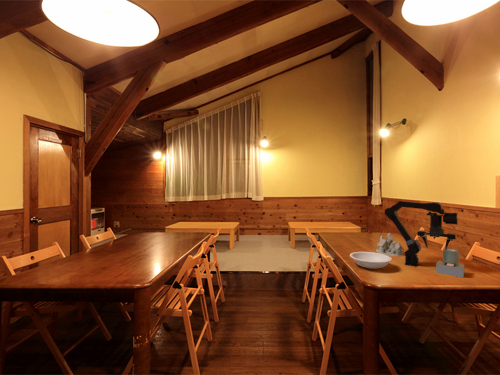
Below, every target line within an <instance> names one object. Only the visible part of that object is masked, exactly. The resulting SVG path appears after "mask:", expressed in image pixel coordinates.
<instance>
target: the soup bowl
mask: <svg viewBox="0 0 500 375" xmlns="http://www.w3.org/2000/svg"><path fill="white" fill-rule="evenodd" d="M349 258H352V259H353V261H354V262H355V263H356V264H357V265H358V266H360V267H362V268H367V269H376V270H377V269H382V268H384V267H386V266H387V265H388V264H389V263H390V262H392V261H393V258H392V257H391V255H385V254H381V253H376V251H375V252H374V251H355V252H351V253H350V254H349Z"/></svg>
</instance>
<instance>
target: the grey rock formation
mask: <svg viewBox="0 0 500 375" xmlns="http://www.w3.org/2000/svg"><path fill="white" fill-rule="evenodd" d="M376 246H377V247H376V250H375V253H376V252H377V253H381V254H385V255H388V256H390V257H391V256H392V257H403V256H404V255H405V254H404V250H405V249H404V248H403V247H402V244H401V243H400V241H396V240H395V239H394V236H393V235H392V234H391V232H389V233H387V235H386V236H385V238H384V235H380V237H379V242H378V243H377V244H376ZM404 257H405V256H404Z"/></svg>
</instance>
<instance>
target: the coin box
mask: <svg viewBox="0 0 500 375" xmlns="http://www.w3.org/2000/svg"><path fill="white" fill-rule="evenodd" d="M447 263H449V264H454V266H448V265H447ZM435 266H436V268H435V269H436V273H437V274H439V275H440V274H441V275H447V276H453V277H458V278H464V277H465V264H463V263H458V264H457V263H450V262H444V261H443V260H438V261H437V262H436V265H435Z"/></svg>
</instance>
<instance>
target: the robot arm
mask: <svg viewBox="0 0 500 375" xmlns="http://www.w3.org/2000/svg"><path fill="white" fill-rule="evenodd" d="M402 208H408V209H409V208H410V209H418V210H421V209H422V210H424V211H425V210H426V211H428V212H427V213H426V214H425V215H426V216H429V217H430V221H429V223H430V224H429V225H430V227H429V231H427V230H421V229H420V230H417V232H416V236H417V237H419V238H421V239H422V241H423V242H424V245H425V246H426V247H425V248H428V246H429V244H428V236H429V237H431V238H433V237H434V238H441V237H442V238H446V240H445V248H444V249H445V250H447V249H448V247H449V244H450V243H451V241H454V240H457V234H456V233H454V232H446V233H445V229H443V223H445V225H456V226H457V225H459V217H458V213H457V212H446V211H445V209H444V208H443V205H442V204H441V203H440V202H438V201H437V202H436V201H435V202H415V201H405V200H399V201H397V202H396V203H394V204H393V205H392V206H390V207H388V208H385V210H384V215H385V216H386V217H387V218H388V219H389V220H390V221H391V222H392V223H393V224H394V225H395V227H396V228H397V230H398V232H399V233H400V235H401V236H402V238H403V239H404V241H405V244H406V246H407V249H406V250H405V251H404V255H405V256H404V258H405V262H404V265H406V266H407V265H408V266H413V267H417V266H419V263H420V262H419V260H420V259H419V257H418V256H419V255H418V254H419V253H420V252H421V251H422V244H421V243H420V241H419V240H418V239H414V238H413V237H412V235H411V234H410V232H409V231H408V230H407V227H406V226H405V225H404V224H403V222H402V221H401V219H400V217H399V213H398V211H400V209H402Z"/></svg>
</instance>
